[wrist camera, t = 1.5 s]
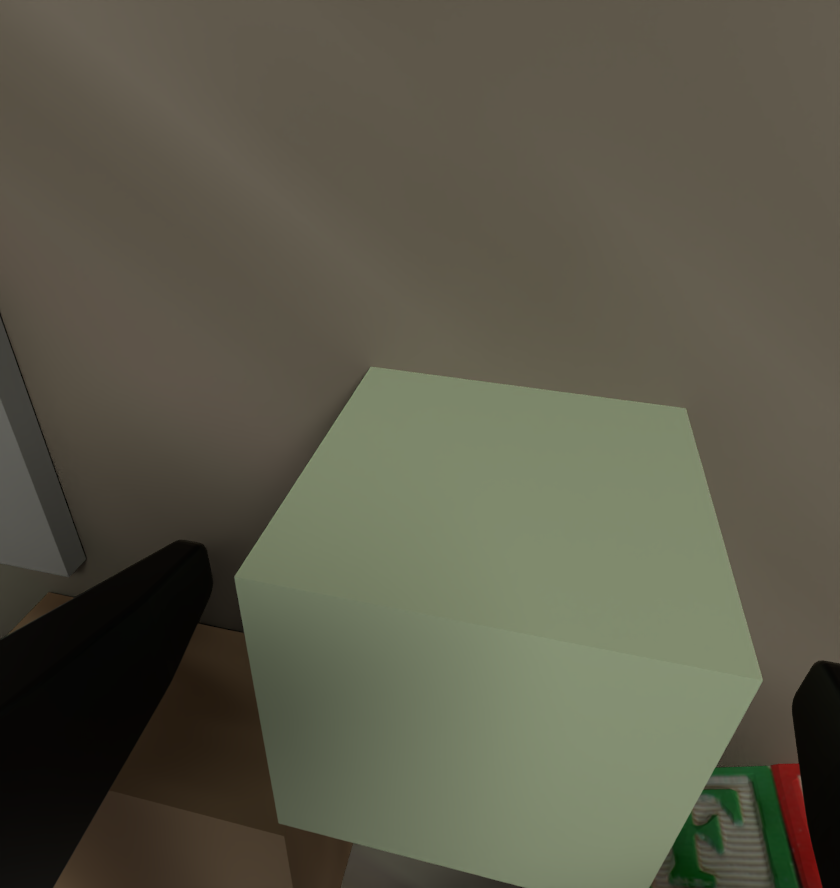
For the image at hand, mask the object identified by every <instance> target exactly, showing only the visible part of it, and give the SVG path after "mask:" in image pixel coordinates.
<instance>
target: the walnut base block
mask: <svg viewBox="0 0 840 888" xmlns="http://www.w3.org/2000/svg"><path fill="white" fill-rule="evenodd" d="M73 598H74V597H69V596H64V595H59V594H55V593H50V592H48V594H47V595H46V596H45V597H44V598H43V599H42V600H41V601H40V602H39V603H38V604H37V605H36V606H35V607H34V608H33V609H32V610H31V611H30V612H29V613H28V614H27V615H26V616H25V617H24V618H23V619H22V620H21V621H20V622H19V623H18V624H17V625H16V627H15V628H14V629H13V630H12V631H11V632H10V633H12V632H14V631H15V630H17V629H19V628H21V627H23V626H24V625H26V624H28V623H30V622H32V621H33V620H35V619H37V618H39V617H41V616H42V615H44V614H46V613H48V612H49V611H51V610H53V609H55V608H57V607H58V606H60V605H62V604H64V603H66V602H67V601H69V600H71V599H73ZM10 633H9V634H10ZM352 845H353V843H352V842H348V841H344V840H340V839H336V838H333V837H329V836H325V835H321V834H317V833H313V832H310V831H306V830H302V829H298V828H294V827H290V826H287V825H283V824H279V823H278V818H277V812H276V807H275V801H274V795H273V790H272V784H271V779H270V773H269V768H268V762H267V757H266V751H265V746H264V740H263V734H262V729H261V723H260V718H259V712H258V707H257V701H256V696H255V690H254V684H253V679H252V673H251V668H250V662H249V657H248V651H247V646H246V640H245V634H244V633H240V632H236V631H231V630H226V629H221V628H217V627H212V626H207V625H202V624H197V627H196V629H195V631H194V633H193V636H192V638H191V640H190V642H189V645H188V647H187V649H186V651H185V654H184V656H183V658H182V660H181V663H180V665H179V667H178V669H177V671H176V673H175V676H174V678H173V680H172V682H171V684H170V685H169V687H168V689H167V691H166V693H165V695H164V696H163V698H162V700H161V702H160V703H159V705H158V707H157V708H156V710H155V712H154V714H153V715H152V717H151V719H150V721H149V722H148V724H147V726H146V728H145V729H144V731H143V733H142V735H141V736H140V738H139V740H138V741H137V743H136V745H135V747H134V748H133V750H132V752H131V754H130V755H129V757H128V759H127V761H126V762H125V764H124V766H123V768H122V769H121V771H120V773H119V774H118V776H117V778H116V780H115V781H114V783H113V785H112V787H111V788H110V790H109V792H108V794H107V795H106V797H105V799H104V801H103V802H102V804H101V806H100V808H99V809H98V811H97V813H96V814H95V816H94V818H93V820H92V821H91V823H90V825H89V827H88V828H87V830H86V832H85V834H84V835H83V837H82V839H81V841H80V842H79V844H78V846H77V847H76V849H75V851H74V853H73V854H72V856H71V858H70V860H69V861H68V863H67V865H66V867H65V868H64V870H63V872H62V874H61V875H60V877H59V879H58V880H57V882H56V884H55V886H54V887H53V888H340V887H341V883H342V880H343V876H344V873H345V869H346V866H347V862H348V859H349V855H350V852H351V848H352Z"/></svg>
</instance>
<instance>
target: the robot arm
mask: <svg viewBox="0 0 840 888" xmlns="http://www.w3.org/2000/svg"><path fill="white" fill-rule="evenodd" d="M212 587H213V578H212V573H211V568H210V563H209V558H208V553H207V549H206V547H205V546H204V545H203V544H201V543H197V542H192V541H186V540H178V541H175V542H173V543H171V544H169V545H168V546H166V547H164V548H162V549H161V550H159V551H157V552H155V553H153V554H152V555H150V556H148V557H146V558H144V559H143V560H141V561H139V562H137V563H135V564H134V565H132V566H130V567H128V568H127V569H125V570H123V571H121V572H119V573H118V574H116V575H114V576H112V577H110V578H109V579H107V580H105V581H103V582H101V583H100V584H98V585H96V586H94V587H92V588H91V589H89V590H87V591H85V592H84V593H82V594H80V595H78V596H76V597H75V598H73V599H71V600H69V601H67V602H66V603H64V604H62V605H60V606H58V607H57V608H55V609H53V610H51V611H49V612H48V613H46V614H44V615H42V616H41V617H39V618H37V619H35V620H33V621H32V622H30V623H28V624H26V625H24V626H23V627H21V628H19V629H17V630H15V631H14V632H12V633H10V634H8V635H6V636H5V637H3V638H1V639H0V888H53V887H54V886H55V884H56V882H57V880H58V879H59V877H60V875H61V874H62V872H63V870H64V868H65V867H66V865H67V863H68V861H69V860H70V858H71V856H72V854H73V853H74V851H75V849H76V847H77V846H78V844H79V842H80V841H81V839H82V837H83V835H84V834H85V832H86V830H87V828H88V827H89V825H90V823H91V821H92V820H93V818H94V816H95V814H96V813H97V811H98V809H99V808H100V806H101V804H102V802H103V801H104V799H105V797H106V795H107V794H108V792H109V790H110V788H111V787H112V785H113V783H114V781H115V780H116V778H117V776H118V774H119V773H120V771H121V769H122V768H123V766H124V764H125V762H126V761H127V759H128V757H129V755H130V754H131V752H132V750H133V748H134V747H135V745H136V743H137V741H138V740H139V738H140V736H141V735H142V733H143V731H144V729H145V728H146V726H147V724H148V722H149V721H150V719H151V717H152V715H153V714H154V712H155V710H156V708H157V707H158V705H159V703H160V702H161V700H162V698H163V696H164V695H165V693H166V691H167V689H168V687H169V685H170V684H171V682H172V680H173V678H174V676H175V673H176V671H177V669H178V667H179V665H180V663H181V660H182V658H183V656H184V654H185V651H186V649H187V647H188V645H189V642H190V640H191V638H192V636H193V633H194V631H195V629H196V627H197V624H198V622H199V620H200V618H201V615H202V613H203V611H204V609H205V606H206V604H207V602H208V600H209V597H210V595H211V592H212ZM792 716H793V723H794V731H795V738H796V746H797V753H798V761H799V768H800V776H801V783H802V791H803V798H804V806H805V812H806V818H807V824H808V829H809V834H810V838H811V843H812V847H813V851H814V855H815V859H816V864H817V868H818V872H819V876H820V880H821V884H822V888H840V664H839V663H834V662H828V661H818V662H816V663H814V665H813V666H812V667H811V669H810V671H809V672H808V674H807V675H806V677H805V679H804V680H803V682H802V684H801V685H800V687H799V689H798V690H797V692H796V694H795V696H794V699H793V703H792Z"/></svg>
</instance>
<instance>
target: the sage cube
mask: <svg viewBox="0 0 840 888" xmlns="http://www.w3.org/2000/svg"><path fill="white" fill-rule="evenodd" d="M234 579H235V585H236V590H237V596H238V601H239V607H240V612H241V618H242V623H243V629H244V634H245V640H246V646H247V651H248V657H249V662H250V668H251V673H252V679H253V684H254V690H255V696H256V701H257V707H258V712H259V718H260V723H261V729H262V734H263V740H264V746H265V751H266V757H267V762H268V768H269V773H270V779H271V784H272V790H273V795H274V801H275V807H276V812H277V818H278V823H279V824H283V825H287V826H290V827H294V828H298V829H302V830H306V831H310V832H313V833H317V834H321V835H325V836H329V837H333V838H336V839H340V840H344V841H348V842H352V843H356V844H359V845H363V846H367V847H371V848H375V849H379V850H382V851H386V852H390V853H394V854H398V855H402V856H405V857H409V858H413V859H417V860H421V861H425V862H428V863H432V864H436V865H440V866H444V867H448V868H451V869H455V870H459V871H463V872H467V873H471V874H474V875H478V876H482V877H486V878H490V879H493V880H497V881H501V882H505V883H509V884H513V885H516V886H520V887H524V888H649V887H650V886H651V884H652V882H653V880H654V878H655V877H656V875H657V873H658V871H659V869H660V867H661V866H662V864H663V862H664V860H665V858H666V856H667V855H668V853H669V851H670V849H671V847H672V846H673V844H674V842H675V840H676V838H677V836H678V835H679V833H680V831H681V829H682V827H683V825H684V824H685V822H686V820H687V818H688V816H689V815H690V813H691V811H692V809H693V807H694V805H695V804H696V802H697V800H698V798H699V796H700V794H701V793H702V791H703V789H704V787H705V785H706V784H707V782H708V780H709V778H710V776H711V774H712V773H713V771H714V769H715V767H716V765H717V763H718V762H719V760H720V758H721V756H722V754H723V753H724V751H725V749H726V747H727V745H728V743H729V742H730V740H731V738H732V736H733V734H734V732H735V731H736V729H737V727H738V725H739V723H740V722H741V720H742V718H743V716H744V714H745V712H746V711H747V709H748V707H749V705H750V703H751V702H752V700H753V698H754V696H755V694H756V692H757V691H758V689H759V687H760V685H761V683H762V681H763V679H762V675H761V672H760V668H759V665H758V661H757V658H756V654H755V651H754V647H753V644H752V640H751V637H750V633H749V629H748V626H747V622H746V619H745V615H744V612H743V608H742V605H741V601H740V598H739V594H738V591H737V587H736V584H735V580H734V577H733V573H732V570H731V566H730V563H729V559H728V555H727V552H726V548H725V545H724V541H723V538H722V534H721V531H720V527H719V524H718V520H717V517H716V513H715V510H714V506H713V503H712V499H711V496H710V492H709V489H708V485H707V482H706V478H705V474H704V471H703V467H702V464H701V460H700V457H699V453H698V450H697V446H696V443H695V439H694V436H693V432H692V429H691V425H690V422H689V418H688V415H687V411H686V408H679V407H671V406H664V405H656V404H649V403H641V402H634V401H626V400H619V399H611V398H603V397H596V396H588V395H581V394H573V393H566V392H558V391H550V390H543V389H535V388H528V387H520V386H513V385H505V384H498V383H490V382H482V381H475V380H467V379H460V378H452V377H445V376H437V375H429V374H422V373H414V372H407V371H399V370H392V369H384V368H377V367H370V369H369V370H368V372H367V373H366V375H365V376H364V378H363V379H362V381H361V382H360V384H359V385H358V387H357V389H356V390H355V392H354V393H353V395H352V396H351V398H350V399H349V401H348V402H347V404H346V405H345V407H344V409H343V410H342V412H341V413H340V415H339V416H338V418H337V419H336V421H335V422H334V424H333V425H332V427H331V429H330V430H329V432H328V433H327V435H326V436H325V438H324V439H323V441H322V442H321V444H320V445H319V447H318V449H317V450H316V452H315V453H314V455H313V456H312V458H311V459H310V461H309V462H308V464H307V465H306V467H305V469H304V470H303V472H302V473H301V475H300V476H299V478H298V479H297V481H296V482H295V484H294V485H293V487H292V489H291V490H290V492H289V493H288V495H287V496H286V498H285V499H284V501H283V502H282V504H281V505H280V507H279V509H278V510H277V512H276V513H275V515H274V516H273V518H272V519H271V521H270V522H269V524H268V525H267V527H266V529H265V530H264V532H263V533H262V535H261V536H260V538H259V539H258V541H257V542H256V544H255V546H254V547H253V549H252V550H251V552H250V553H249V555H248V556H247V558H246V559H245V561H244V562H243V564H242V566H241V567H240V569H239V570H238V572H237V573H236V575H235V576H234Z"/></svg>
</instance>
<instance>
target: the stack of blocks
mask: <svg viewBox="0 0 840 888" xmlns="http://www.w3.org/2000/svg"><path fill="white" fill-rule="evenodd" d="M649 888H822V884H821V880H820V876H819V872H818V868H817V864H816V859H815V855H814V851H813V847H812V843H811V838H810V834H809V829H808V824H807V818H806V812H805V806H804V798H803V791H802V783H801V776H800V768H799V764H776V765H770V766H753V767H721V768H715V769H714V771H713V773H712V774H711V776H710V778H709V780H708V782H707V784H706V785H705V787H704V789H703V791H702V793H701V794H700V796H699V798H698V800H697V802H696V804H695V805H694V807H693V809H692V811H691V813H690V815H689V816H688V818H687V820H686V822H685V824H684V825H683V827H682V829H681V831H680V833H679V835H678V836H677V838H676V840H675V842H674V844H673V846H672V847H671V849H670V851H669V853H668V855H667V856H666V858H665V860H664V862H663V864H662V866H661V867H660V869H659V871H658V873H657V875H656V877H655V878H654V880H653V882H652V884H651V886H650V887H649Z"/></svg>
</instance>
